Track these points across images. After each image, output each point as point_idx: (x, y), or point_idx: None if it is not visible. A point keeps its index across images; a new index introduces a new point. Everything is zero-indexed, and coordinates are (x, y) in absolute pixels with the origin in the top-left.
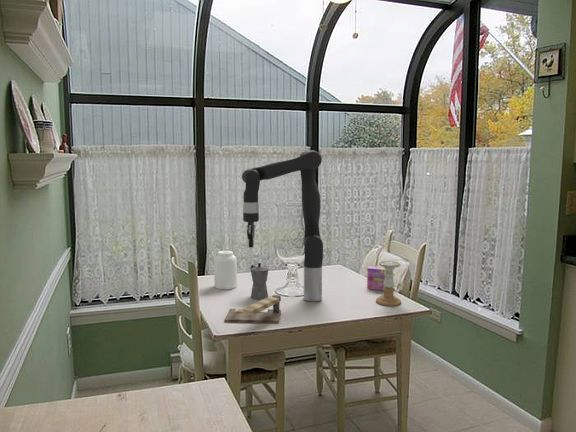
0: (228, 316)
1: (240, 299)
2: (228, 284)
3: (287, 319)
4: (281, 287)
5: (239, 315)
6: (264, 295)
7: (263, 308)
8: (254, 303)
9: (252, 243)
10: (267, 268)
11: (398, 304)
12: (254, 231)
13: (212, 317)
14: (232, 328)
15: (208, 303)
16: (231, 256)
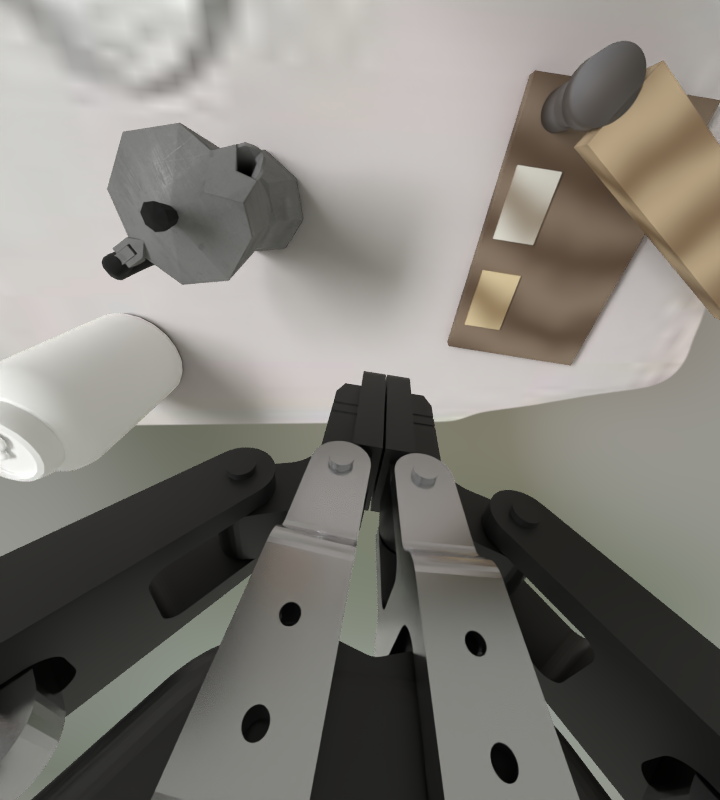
0: (541, 352)
1: (302, 299)
2: (165, 354)
3: (675, 31)
4: (43, 30)
5: (546, 311)
6: (284, 175)
7: None
8: (684, 260)
9: (409, 418)
10: (160, 132)
11: None
12: (340, 650)
13: (500, 396)
14: (647, 335)
15: None
16: (24, 408)
